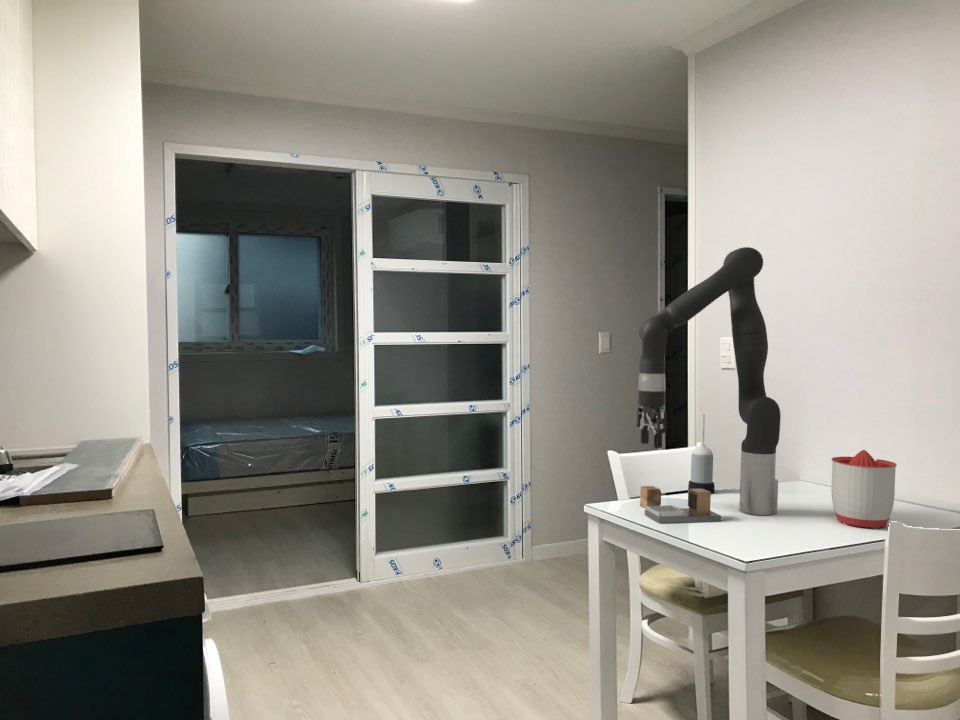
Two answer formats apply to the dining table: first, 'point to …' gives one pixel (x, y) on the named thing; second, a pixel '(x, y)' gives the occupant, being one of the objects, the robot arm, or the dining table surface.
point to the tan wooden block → (650, 496)
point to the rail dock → (686, 510)
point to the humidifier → (702, 466)
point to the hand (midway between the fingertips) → (650, 445)
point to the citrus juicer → (863, 490)
